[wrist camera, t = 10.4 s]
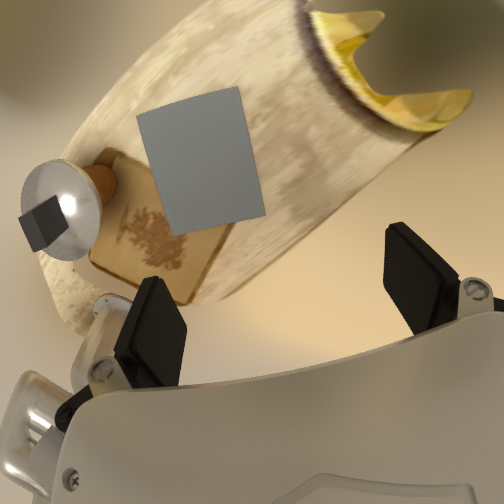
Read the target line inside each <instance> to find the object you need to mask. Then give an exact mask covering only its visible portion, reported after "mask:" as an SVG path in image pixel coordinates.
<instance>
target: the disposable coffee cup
mask: <svg viewBox="0 0 504 504" xmlns="http://www.w3.org/2000/svg"><path fill="white" fill-rule="evenodd" d="M82 169H83V170H84V171H85V172H86V173H87V174H88V176H89V177H90V178H91V180H92V181H93V183H94V185H95V186H96V188H97V191H98V193H99V196H100V199H101V203H102V209H103V208H104V207H105V205H106V204H107V203H108V201H109V200H110V199H111V198H112V196H113V195H114V194H115V192H116V188H117V180H116V176H115V174H114V172H113V171H112V170H111V169H110V168H109V167H108V166H106V165H102V164H97V165H93V166H89V167H84V168H82Z"/></svg>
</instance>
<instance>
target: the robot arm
mask: <svg viewBox="0 0 504 504" xmlns="http://www.w3.org/2000/svg"><path fill="white" fill-rule="evenodd" d="M384 259H385V260H384V274H383V284H384V288H385V290H386V291H387V292H388V294H389V295H390V297H391V299H392V300H393V302H394V303H395V305H396V306H397V308H398V309H399V311H400V313H401V314H402V316H403V318H404V319H405V321H406V322H407V324H408V326H409V327H410V329H411V330H412V332H413V334H414V336H411V337H408V338H405V339H403V340H400V341H397V342H394V343H391V344H388V345H385V346H382V347H379V348H376V349H373V350H369V351H366V352H363V353H359V354H356V355H352V356H349V357H345V358H341V359H338V360H334V361H330V362H326V363H322V364H318V365H314V366H309V367H305V368H300V369H295V370H291V371H285V372H280V373H275V374H269V375H264V376H258V377H251V378H245V379H238V380H231V381H224V382H215V383H205V384H195V385H184V386H178V383H179V376H180V370H181V363H182V358H183V352H184V346H185V340H186V335H187V326H186V323H185V322H184V320H183V318H182V316H181V314H180V312H179V310H178V308H177V306H176V304H175V302H174V300H173V298H172V296H171V294H170V292H169V290H168V288H167V286H166V284H165V282H164V280H163V279H162V278H160V279H159V277H158V276H153V277H148V278H144V279H143V281H142V283H141V285H140V288H139V290H138V292H137V294H136V296H135V299H134V301H133V302H132V301H131V300H129V299H127V298H125V297H122V296H119V295H113V294H108V295H104V296H101V297H100V298H98V300H97V301H96V302H95V304H94V307H93V314H94V318H95V320H94V321H93V323H92V325H91V327H90V329H89V331H88V333H87V335H86V337H85V339H84V342H83V344H82V346H81V348H80V350H79V352H78V354H77V356H76V358H75V361H74V363H73V365H72V368H71V373H70V374H71V375H70V377H71V383H72V388H73V391H74V394H75V395H73V394H72V393H69V392H68V391H66V390H64V389H63V388H61V387H60V386H58V385H56V384H55V383H53V382H52V381H50V380H49V379H47V378H46V377H44V376H42V375H41V374H39V373H37V372H35V371H32V370H29V371H26V372H24V373H23V374H22V375H21V377H20V378H19V380H18V382H17V384H16V386H15V388H14V390H13V393H12V396H11V398H10V401H9V404H8V406H7V409H6V412H5V415H4V418H3V421H2V424H1V427H0V471H1V472H2V473H3V474H4V475H5V476H6V477H7V478H9V479H10V480H11V481H13V482H15V483H16V484H18V485H20V486H22V487H23V488H25V489H27V490H28V491H30V492H32V493H33V501H32V504H504V300H502V299H499V298H495V297H493V292H492V288H491V287H490V285H489V284H488V283H487V282H485V281H484V280H482V279H479V278H475V277H469V278H466V279H464V280H463V281H462V282H461V281H460V280H459V279H458V276H459V275H458V274H457V273H456V271H455V270H453V268H452V267H451V266H450V265H449V264H448V263H447V262H446V261H445V260H444V259H443V258H442V257H441V256H440V255H439V254H438V253H436V252H435V251H434V250H433V249H432V248H431V247H430V246H429V245H428V244H427V243H426V242H425V241H424V240H423V239H422V238H420V237H419V236H418V235H417V234H416V233H415V232H414V231H413V230H411V229H410V228H409V227H408V226H407V225H406V224H405V223H403V222H397V223H393V224H390V225H389V227H388V228H387V229H386V231H385V257H384ZM29 428H30V429H32V430H33V431H35V432H36V433H38V434H40V435H41V436H42V438H41V439H40V440H39V442H37V441H36V440H34V439H33V438H32V437H31V435H30V432H29Z"/></svg>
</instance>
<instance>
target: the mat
mask: <svg viewBox="0 0 504 504" xmlns="http://www.w3.org/2000/svg"><path fill="white" fill-rule="evenodd" d="M136 118H137V121H138V125H139V129H140V133H141V136H142V140H143V143H144V147H145V150H146V154H147V157H148V161H149V164H150V167H151V171H152V174H153V177H154V180H155V183H156V187H157V190H158V193H159V196H160V199H161V202H162V205H163V208H164V211H165V214H166V217H167V220H168V222H169V225H170V228H171V231H172V234H173V236H177V235H181V234H185V233H189V232H194V231H198V230H202V229H207V228H211V227H216V226H220V225H225V224H229V223H234V222H238V221H243V220H248V219H252V218H257V217H262V216H266V215H265V210H264V205H263V201H262V196H261V191H260V186H259V181H258V176H257V172H256V167H255V162H254V158H253V153H252V148H251V144H250V139H249V135H248V130H247V126H246V121H245V117H244V112H243V108H242V104H241V99H240V95H239V91H238V86H237V87H232V88H227V89H223V90H219V91H215V92H211V93H207V94H203V95H199V96H195V97H192V98H188V99H185V100H181V101H178V102H175V103H172V104H169V105H166V106H163V107H160V108H157V109H154V110H151V111H148V112H145V113H143V114H140V115H137V116H136Z"/></svg>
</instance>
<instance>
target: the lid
mask: <svg viewBox="0 0 504 504" xmlns="http://www.w3.org/2000/svg"><path fill="white" fill-rule="evenodd" d="M21 211H22V216H20V217H19V218H18V219H19V222H20V224H21V226H22V229H23V231H24V233H25V236H26V238H27V240H28V242H29V244H30V246H31V248H32V250H33V252H37V251H39V250H43V251H44V252H45V253H46V254H48V255H50V256H51V257H53V258H56V259H59V260H63V261H73V260H77V259H79V258H81V257H83V256H84V255H85V254H87V253H88V252H89V250H90V249H91V248H92V247H93V246H94V245H95V243H96V242H97V240H98V238H99V236H100V234H101V230H102V225H103V209H102V203H101V199H100V196H99V193H98V191H97V188H96V186H95V185H94V183H93V181H92V180H91V178H90V177H89V176H88V174H87V173H86V172H85V171H84V170H83V169H82V168H80V167H79V166H78V165H76V164H75V163H72V162H70V161H67V160H62V159H55V160H51V161H48V162H45V163H43V164H41V165H39V166H37V167H36V168H35V169H34V170H32V172H31V173H30V174H29V175H28V177H27V179H26V181H25V183H24V186H23V189H22V194H21Z"/></svg>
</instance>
